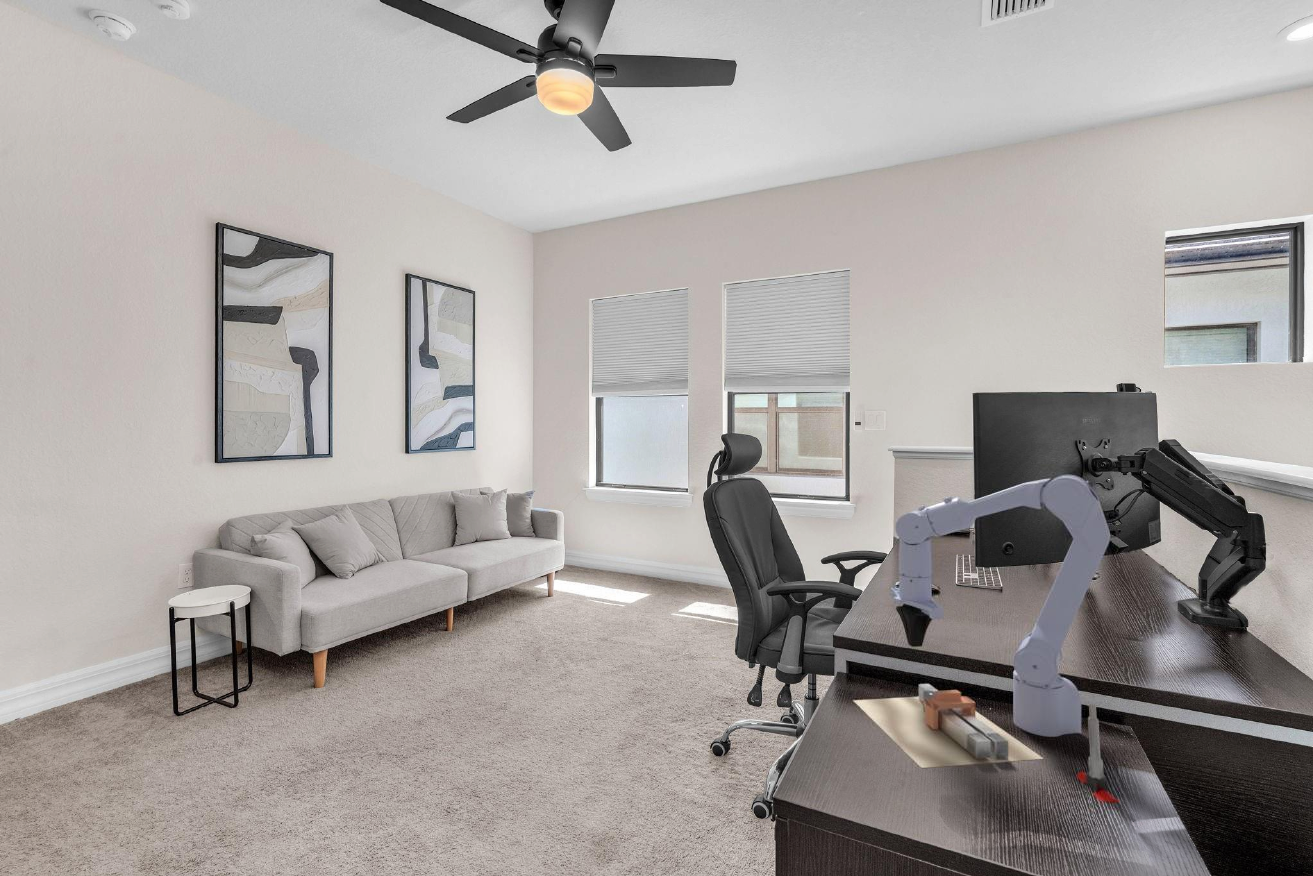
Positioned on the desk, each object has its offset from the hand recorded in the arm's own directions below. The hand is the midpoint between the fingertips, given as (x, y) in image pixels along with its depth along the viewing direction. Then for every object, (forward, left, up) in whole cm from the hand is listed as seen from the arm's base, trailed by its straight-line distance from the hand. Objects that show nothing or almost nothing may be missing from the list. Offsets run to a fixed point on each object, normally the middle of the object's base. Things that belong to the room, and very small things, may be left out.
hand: (915, 645), depth 112 cm
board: (+3, +12, -10) cm, 16 cm away
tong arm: (+2, +16, -9) cm, 19 cm away
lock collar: (+1, +12, -9) cm, 15 cm away
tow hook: (-5, +31, -11) cm, 33 cm away
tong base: (0, +13, -9) cm, 16 cm away
